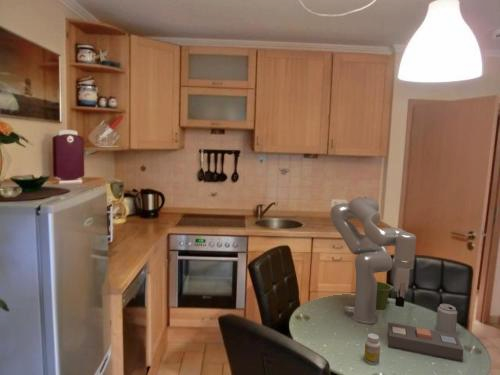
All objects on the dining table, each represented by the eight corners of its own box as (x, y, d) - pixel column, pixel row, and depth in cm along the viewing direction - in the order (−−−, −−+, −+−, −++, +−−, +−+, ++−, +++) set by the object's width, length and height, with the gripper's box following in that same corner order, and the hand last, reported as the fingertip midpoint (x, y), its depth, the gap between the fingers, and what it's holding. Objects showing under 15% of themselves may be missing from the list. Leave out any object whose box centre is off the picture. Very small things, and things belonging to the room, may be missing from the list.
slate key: (441, 350, 136) (442, 341, 136) (439, 344, 141) (440, 335, 140) (456, 353, 134) (456, 344, 134) (453, 347, 139) (454, 337, 139)
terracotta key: (416, 342, 139) (417, 333, 139) (415, 336, 144) (416, 327, 143) (430, 345, 137) (431, 335, 137) (428, 339, 142) (429, 329, 142)
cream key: (392, 341, 142) (392, 332, 142) (391, 335, 147) (392, 326, 147) (405, 343, 141) (406, 334, 140) (404, 337, 145) (405, 328, 145)
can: (458, 337, 149) (460, 311, 147) (439, 335, 150) (441, 309, 149) (451, 329, 156) (453, 303, 155) (433, 327, 157) (435, 301, 156)
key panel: (388, 347, 140) (389, 335, 139) (387, 333, 151) (388, 322, 151) (462, 362, 131) (463, 349, 130) (455, 346, 142) (456, 334, 142)
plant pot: (388, 314, 169) (389, 291, 168) (363, 308, 176) (364, 286, 175) (392, 305, 179) (394, 284, 178) (369, 299, 186) (370, 279, 185)
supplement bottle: (376, 366, 127) (377, 341, 126) (362, 360, 130) (363, 336, 129) (381, 360, 131) (383, 335, 130) (367, 354, 134) (369, 331, 134)
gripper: (392, 256, 149) (389, 296, 151) (394, 267, 135) (390, 311, 138) (412, 258, 147) (408, 300, 149) (415, 270, 133) (410, 315, 135)
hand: (399, 305), depth 143 cm, fingers closed
